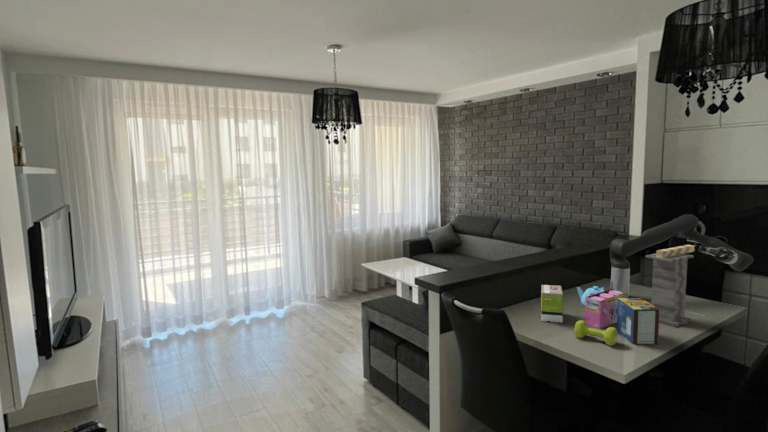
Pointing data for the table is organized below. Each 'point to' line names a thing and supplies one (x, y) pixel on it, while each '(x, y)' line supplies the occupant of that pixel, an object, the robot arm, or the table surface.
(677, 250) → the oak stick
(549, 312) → the tea box
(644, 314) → the protein box
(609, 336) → the dumbbell
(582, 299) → the teapot
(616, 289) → the robot arm
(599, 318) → the gum box
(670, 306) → the pedestal shelf
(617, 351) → the table surface
